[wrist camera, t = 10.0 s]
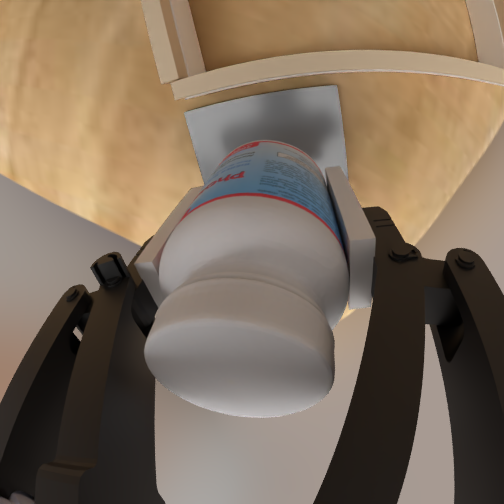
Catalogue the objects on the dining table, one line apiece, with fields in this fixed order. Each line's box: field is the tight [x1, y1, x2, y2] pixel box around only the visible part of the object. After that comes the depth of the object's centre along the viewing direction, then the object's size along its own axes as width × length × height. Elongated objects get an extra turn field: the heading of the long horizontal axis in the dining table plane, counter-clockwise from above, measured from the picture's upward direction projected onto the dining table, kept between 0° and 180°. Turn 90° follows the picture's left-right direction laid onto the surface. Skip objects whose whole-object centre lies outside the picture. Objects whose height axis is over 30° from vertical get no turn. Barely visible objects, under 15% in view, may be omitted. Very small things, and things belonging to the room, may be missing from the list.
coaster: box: [184, 85, 348, 186], centre depth 18 cm, size 10×10×1 cm
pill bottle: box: [144, 140, 350, 418], centre depth 11 cm, size 6×6×11 cm
